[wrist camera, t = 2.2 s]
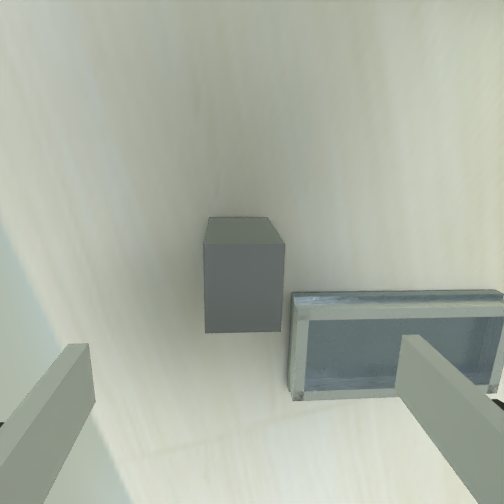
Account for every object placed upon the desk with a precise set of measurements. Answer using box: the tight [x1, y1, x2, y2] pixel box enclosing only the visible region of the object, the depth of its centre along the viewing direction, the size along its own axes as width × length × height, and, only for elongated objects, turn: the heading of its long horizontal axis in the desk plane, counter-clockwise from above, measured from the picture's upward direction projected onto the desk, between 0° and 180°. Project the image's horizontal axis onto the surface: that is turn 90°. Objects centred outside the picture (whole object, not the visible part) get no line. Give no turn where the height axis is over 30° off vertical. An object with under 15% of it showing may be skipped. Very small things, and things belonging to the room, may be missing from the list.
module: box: [203, 217, 285, 333], centre depth 26 cm, size 6×5×9 cm
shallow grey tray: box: [287, 290, 504, 401], centre depth 33 cm, size 10×20×3 cm, turn 89°
